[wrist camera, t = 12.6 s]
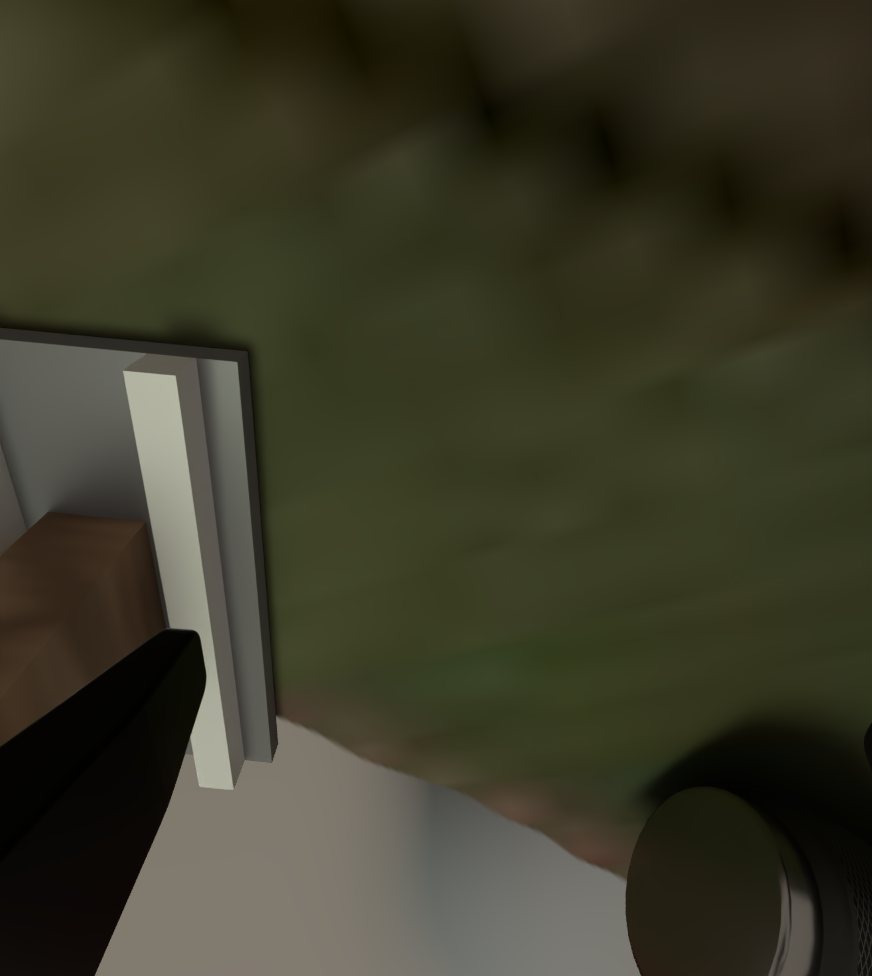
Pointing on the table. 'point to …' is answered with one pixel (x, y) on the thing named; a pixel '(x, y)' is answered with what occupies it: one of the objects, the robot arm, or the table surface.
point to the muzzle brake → (748, 889)
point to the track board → (155, 499)
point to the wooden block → (71, 609)
